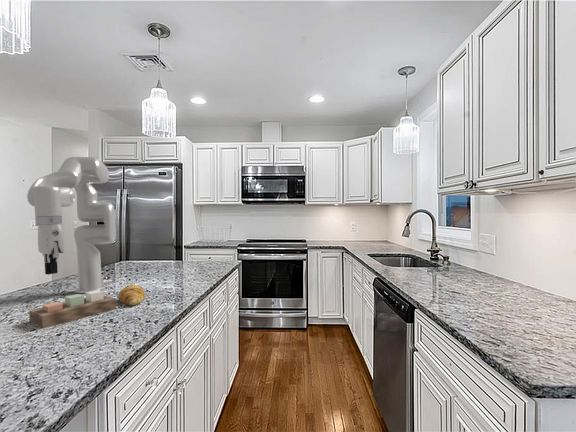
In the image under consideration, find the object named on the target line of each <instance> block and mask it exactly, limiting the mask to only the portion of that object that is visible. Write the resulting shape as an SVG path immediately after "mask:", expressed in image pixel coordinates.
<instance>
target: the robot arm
mask: <svg viewBox="0 0 576 432" xmlns="http://www.w3.org/2000/svg"><path fill="white" fill-rule="evenodd" d="M109 179H110V171H109V169H108V167H107V166H106V164H104V163H103V162H102V160H101V159H99V158H97V157H93V156H71V157H68V158H65V160H64V161H63V163H62V164H61V165H60V167H59V168H58V169H57V171H54V172H52V173H50V174H47V175H44V176H41V177H39V178H38V179H35V181H33V183H32V184H31V185H30V187H29V189H28V191H27V194H26V196H27V197H26V198H27V202H28V204H30V206H32V207H34V217H35V218H34V220H35V223H34V224H35V227H37V249H38V252H39V253H40V254H42V256H43V261H44V274H45V275H53V274H54V275H55V274H58V272H59V271H58V258H60V255H59V254H64V253H65V241H64V234H63V228H62V226H63V218H62V217H63V216H62V214H63V213H62V208H65V207H66V208H67V207H70V206H72V205H73V204H74V203H75V201H76V212H77V219H78V221H80V222H81V223H82V222H83V223H97V222H98V223H100V222H101V223H104V224H84V225H83V224H81V225H79V226H77V227H75V229H74V232H73V238H74V241H75V247H76V255H77V258H76V259H77V277H78V278H77V281H78V287H77V288H75V289H74V293H75V294H86V293H85V292H90V291H95V290H100V291H103V290H105V289H106V284H111V283H113V280H112V278H110V279H103V278H102V262H101V261H102V260H101V251H100V250H99V249H98V248H97V247H96V245H109V244H113V243H114V242H115V241H116V239H117V226H116V225H117V224H116V223H117V221H116V211H115V206H114V204H113V203H111V202H109V201H100V202H99V201H98V192H97V190H96V189H95V187H94V186H93V185H92V184H106V183H107V182H108V181H109ZM73 189H74V190H73ZM74 191H75V192H74Z"/></svg>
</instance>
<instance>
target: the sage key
mask: <svg viewBox="0 0 576 432" xmlns="http://www.w3.org/2000/svg"><path fill="white" fill-rule="evenodd" d="M84 298H85V295H83V294H81V293H75V294H71V295H67V296H64V303H65V306H67V307H74V306H78V305H82V304H84Z"/></svg>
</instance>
